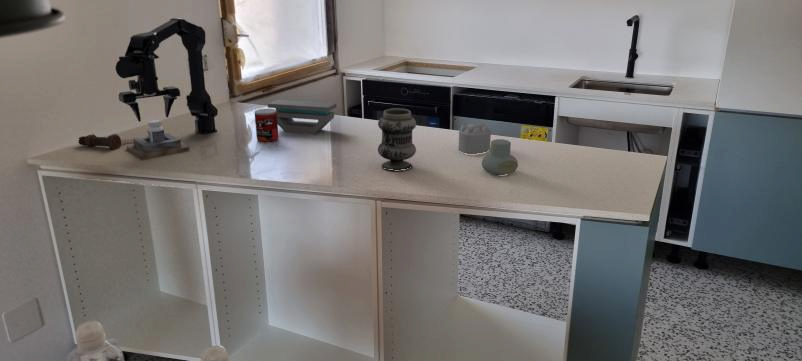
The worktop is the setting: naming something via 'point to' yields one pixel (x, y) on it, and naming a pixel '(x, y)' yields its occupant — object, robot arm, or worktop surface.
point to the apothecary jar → (397, 138)
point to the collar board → (154, 154)
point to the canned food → (266, 125)
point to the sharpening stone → (302, 115)
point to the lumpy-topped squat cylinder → (474, 138)
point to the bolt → (101, 141)
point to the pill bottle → (155, 131)
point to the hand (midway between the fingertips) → (153, 119)
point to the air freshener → (500, 158)
